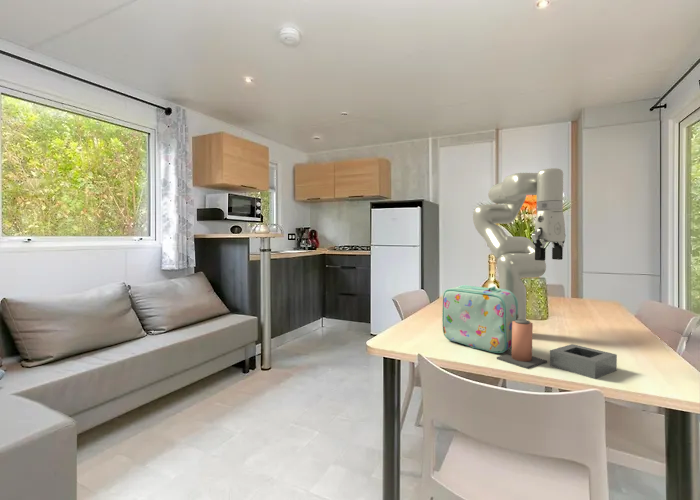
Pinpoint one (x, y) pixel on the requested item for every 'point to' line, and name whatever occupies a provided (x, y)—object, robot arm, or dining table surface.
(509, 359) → the mat
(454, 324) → the lunch box
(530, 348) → the orange cylinder
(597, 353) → the housing
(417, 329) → the dining table surface
